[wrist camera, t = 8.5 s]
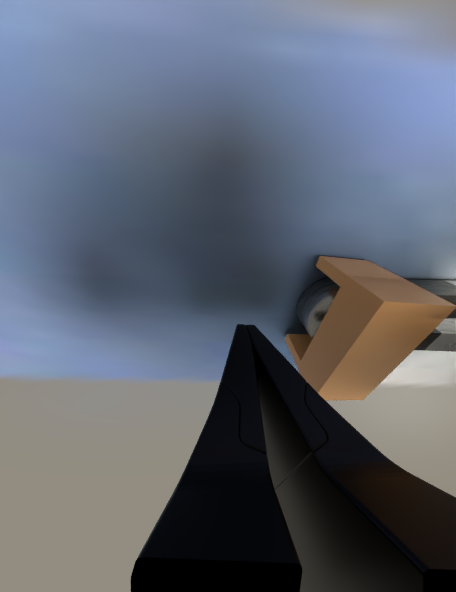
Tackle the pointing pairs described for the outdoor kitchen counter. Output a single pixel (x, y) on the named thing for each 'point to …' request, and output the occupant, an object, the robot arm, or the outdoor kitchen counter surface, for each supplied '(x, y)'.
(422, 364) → the outdoor kitchen counter surface
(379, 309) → the orange u-shaped block
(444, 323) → the arm
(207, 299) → the outdoor kitchen counter surface
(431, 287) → the tongs free arm
